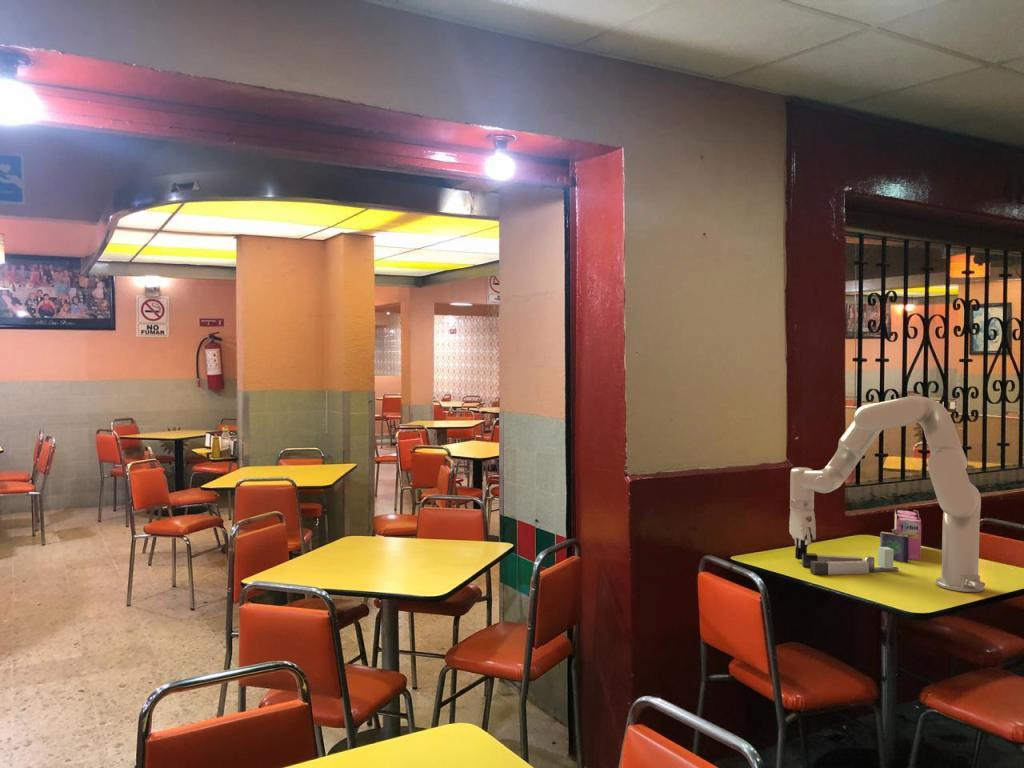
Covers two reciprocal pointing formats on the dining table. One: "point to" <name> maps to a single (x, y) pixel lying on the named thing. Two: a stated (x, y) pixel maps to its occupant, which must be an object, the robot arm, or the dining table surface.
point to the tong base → (846, 567)
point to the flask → (896, 544)
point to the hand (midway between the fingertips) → (801, 558)
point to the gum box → (910, 531)
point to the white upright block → (885, 557)
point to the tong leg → (825, 558)
